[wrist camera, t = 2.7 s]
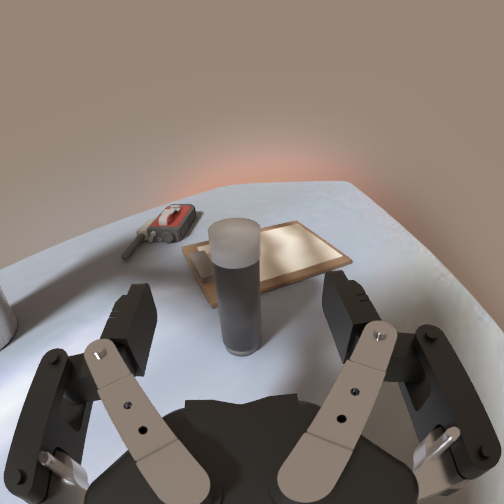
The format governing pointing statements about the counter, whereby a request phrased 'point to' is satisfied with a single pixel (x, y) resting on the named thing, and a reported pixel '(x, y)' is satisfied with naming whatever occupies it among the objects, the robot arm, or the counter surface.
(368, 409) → the robot arm
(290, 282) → the clipboard
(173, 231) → the walkie-talkie
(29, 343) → the counter surface
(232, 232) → the bottle
